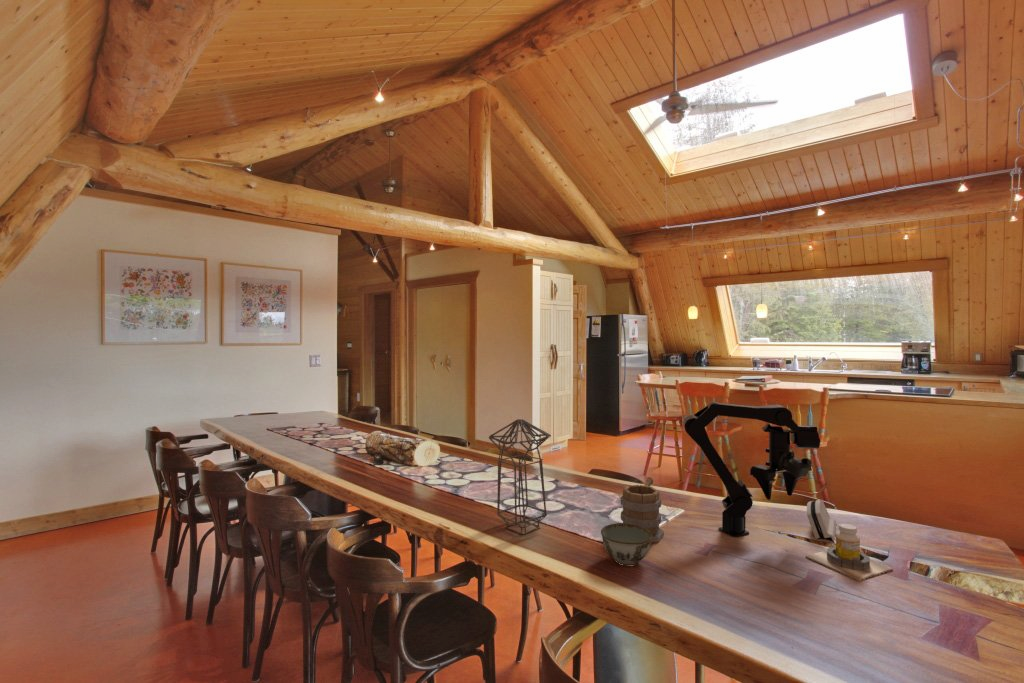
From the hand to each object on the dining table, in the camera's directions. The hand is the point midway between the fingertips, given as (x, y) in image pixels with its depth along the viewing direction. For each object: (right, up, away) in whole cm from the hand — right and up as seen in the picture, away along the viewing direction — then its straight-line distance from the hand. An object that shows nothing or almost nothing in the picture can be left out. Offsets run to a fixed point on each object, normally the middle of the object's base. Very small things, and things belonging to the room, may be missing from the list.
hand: (779, 497), depth 149 cm
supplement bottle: (+9, -12, -18) cm, 23 cm away
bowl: (-51, -13, -16) cm, 55 cm away
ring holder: (+9, -12, -18) cm, 23 cm away
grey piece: (+16, -12, +5) cm, 21 cm away
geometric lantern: (-79, -12, +7) cm, 81 cm away
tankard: (-40, -12, +5) cm, 42 cm away
